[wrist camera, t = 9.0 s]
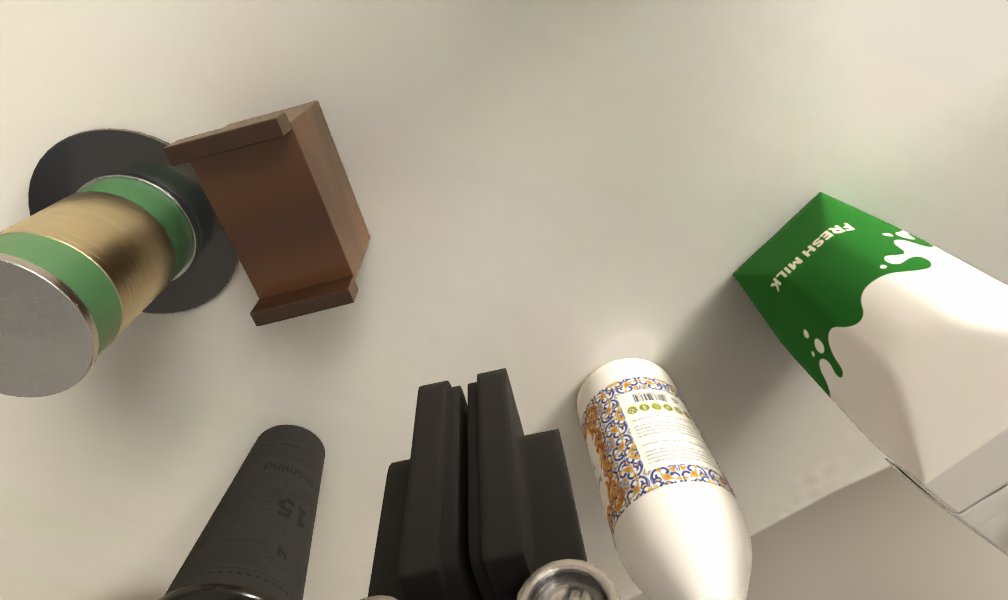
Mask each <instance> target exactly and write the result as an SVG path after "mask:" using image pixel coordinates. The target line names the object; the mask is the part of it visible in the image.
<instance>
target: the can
mask: <svg viewBox="0 0 1008 600" xmlns="http://www.w3.org/2000/svg"><path fill="white" fill-rule="evenodd" d="M198 248H199V235H198V230H197V226H196V223H195V221H194V218H193V216H192V215H191V213H190V211H189V210H188V208H187V207H186V206H185V204H184V203H183V202H182V201H181V200H180V199H179V198H178V197H177V196H176V195H175V194H174V193H173V192H172V191H170V190H169V189H167V188H166V187H165V186H163V185H161V184H159V183H158V182H156V181H154V180H151V179H149V178H146V177H143V176H140V175H136V174H131V173H110V174H105V175H101V176H98V177H96V178H94V179H92V180H90V181H88V182H87V183H85V184H84V185H83V186H81V187H80V188H79V189H78V190H77V192H76V193H75V194H73V195H70V196H68V197H66V198H64V199H62V200H60V201H58V202H56V203H54V204H52V205H51V206H49V207H47V208H45V209H43V210H41V211H39V212H37V213H35V214H34V215H32V216H30V217H28V218H26V219H24V220H22V221H20V222H18V223H17V224H15V225H13V226H11V227H9V228H7V229H5V230H3V231H1V232H0V393H1V394H5V395H10V396H17V397H42V396H48V395H53V394H56V393H60V392H62V391H64V390H67V389H69V388H71V387H72V386H74V385H75V384H77V383H78V382H79V381H80V380H81V379H82V378H83V377H84V376H85V375H86V374H87V373H88V372H89V370H90V369H91V368H92V366H93V365H94V363H95V361H96V358H97V356H98V355H99V354H100V353H101V352H102V351H103V350H104V349H105V348H106V347H107V346H108V345H109V344H110V343H111V342H112V341H113V340H114V339H115V338H116V337H117V336H118V335H119V334H120V333H121V332H122V331H123V330H124V329H125V328H126V327H127V326H128V325H129V324H130V323H131V322H132V321H133V320H134V319H135V318H136V317H137V316H138V315H139V314H140V313H141V312H142V311H143V310H144V309H145V308H146V307H147V306H148V305H149V304H150V303H151V302H152V301H153V300H154V299H155V298H156V297H157V296H158V295H159V294H160V293H161V292H162V291H163V290H164V289H165V288H166V286H167V285H168V284H169V283H170V282H171V281H173V280H175V279H177V278H178V277H180V276H181V275H182V274H184V273H185V272H186V271H187V270H188V269H189V268H190V266H191V265H192V264H193V262H194V260H195V258H196V256H197V253H198Z"/></svg>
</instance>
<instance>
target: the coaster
mask: <svg viewBox="0 0 1008 600" xmlns="http://www.w3.org/2000/svg"><path fill="white" fill-rule="evenodd" d="M168 145H170V144H169V143H167V142H165V141H162V140H160V139H158V138H156V137H153V136H150V135H146V134H143V133H140V132H135V131H130V130H125V129H111V128H109V129H95V130H90V131H85V132H81V133H78V134H75V135H73V136H70V137H67V138H66V139H64V140H62V141H60V142H58V143H57V144H56V145H54V146H53V147H52V148H51V149H49V150H48V151H47V152H46V153H45V155H44V156H43V157H42V158H41V159H40V161H39V162H38V164H37V166H36V168H35V169H34V172H33V175H32V178H31V181H30V186H29V192H28V197H29V210H30V216H32V215H34V214H35V213H37V212H39V211H41V210H43V209H45V208H47V207H49V206H51V205H52V204H54V203H56V202H58V201H60V200H62V199H64V198H66V197H68V196H70V195H73V194H75V193H76V192H77V190H78V189H79V188H80V187H81V186H83V185H84V184H85V183H87V182H88V181H90V180H92V179H94V178H96V177H98V176H101V175H105V174H110V173H131V174H136V175H140V176H143V177H146V178H149V179H151V180H154V181H156V182H158V183H159V184H161V185H163V186H165V187H166V188H167V189H169V190H170V191H172V192H173V193H174V194H175V195H176V196H177V197H178V198H179V199H180V200H181V201H182V202H183V203H184V204H185V206H186V207H187V208H188V210H189V211H190V213H191V215H192V216H193V218H194V221H195V223H196V226H197V230H198V235H199V248H198V253H197V256H196V258H195V260H194V262H193V264H192V265H191V266H190V268H189V269H188V270H187V271H186V272H185V273H184V274H182V275H181V276H180V277H178V278H177V279H175V280H173V281H171V282H170V283H169V284H168V285H167V286H166V288H165V289H164V290H163V291H162V292H161V293H160V294H159V295H158V296H157V297H156V298H155V299H154V300H153V301H152V302H151V303H150V304H149V305H148V306H147V307H146V308H145V309H144V310H143V311H142V312H146V313H175V312H180V311H185V310H189V309H192V308H195V307H197V306H199V305H202V304H204V303H206V302H207V301H209V300H210V299H212V298H213V297H215V296H216V295H217V294H218V293H219V292H220V291H221V290H222V289H223V288H224V287H225V286H226V284H227V283H228V282H229V280H230V279H231V277H232V275H233V273H234V272H235V269H236V266H237V263H238V260H239V258H238V256H237V254H236V252H235V250H234V248H233V246H232V244H231V242H230V240H229V238H228V237H227V235H226V233H225V231H224V229H223V227H222V225H221V223H220V221H219V219H218V217H217V215H216V213H215V211H214V209H213V207H212V205H211V203H210V202H209V200H208V198H207V196H206V194H205V192H204V190H203V188H202V186H201V184H200V182H199V180H198V178H197V176H196V174H195V172H194V170H193V168H192V166H191V165H190V163H189V162H187V163H183V164H179V165H175V166H172V165H171V163H170V161H169V160H168V158H167V156H166V154H165V152H164V150H163V148H164V147H166V146H168Z"/></svg>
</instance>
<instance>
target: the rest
mask: <svg viewBox="0 0 1008 600" xmlns="http://www.w3.org/2000/svg"><path fill="white" fill-rule="evenodd" d="M163 150H164V152H165V154H166V156H167V158H168V160H169V161H170V163H171V165H172V166H175V165H179V164H183V163H187V162H189V163H190V165H191V166H192V168H193V170H194V172H195V174H196V176H197V178H198V180H199V182H200V184H201V186H202V188H203V190H204V192H205V194H206V196H207V198H208V200H209V202H210V203H211V205H212V207H213V209H214V211H215V213H216V215H217V217H218V219H219V221H220V223H221V225H222V227H223V229H224V231H225V233H226V235H227V237H228V238H229V240H230V242H231V244H232V246H233V248H234V250H235V252H236V254H237V256H238V258H239V260H240V262H241V264H242V266H243V268H244V270H245V272H246V273H247V275H248V277H249V279H250V281H251V283H252V285H253V287H254V289H255V291H256V293H257V295H258V297H259V300H258V302H257V304H256V305H255V307H254V308H253V310H252V311H251V313H250V314H251V316H252V318H253V320H254V322H255V324H256V326H262V325H266V324H270V323H274V322H278V321H282V320H286V319H290V318H294V317H298V316H302V315H306V314H310V313H314V312H318V311H322V310H326V309H330V308H334V307H338V306H342V305H346V304H350V303H353V302H354V301H355V298H356V295H357V292H358V286H357V284H356V281H355V278H356V276H357V273H358V270H359V267H360V264H361V262H362V259H363V256H364V253H365V250H366V248H367V245H368V242H369V239H370V235H369V233H368V230H367V227H366V225H365V222H364V220H363V217H362V214H361V212H360V209H359V206H358V204H357V201H356V199H355V196H354V193H353V191H352V188H351V186H350V183H349V180H348V178H347V175H346V173H345V170H344V167H343V165H342V162H341V160H340V157H339V154H338V152H337V149H336V147H335V144H334V141H333V139H332V136H331V133H330V131H329V128H328V126H327V123H326V120H325V118H324V115H323V113H322V110H321V107H320V105H319V102H318V101H314V102H311V103H307V104H303V105H299V106H296V107H292V108H288V109H285V110H281V111H277V112H273V113H270V114H266V115H262V116H259V117H255V118H251V119H248V120H244V121H240V122H236V123H233V124H229V125H227V126H226V127H224V128H221V129H217V130H213V131H210V132H206V133H202V134H199V135H195V136H191V137H188V138H184V139H180V140H177V141H175V142H174V143H172V144H170V145H168V146H166V147H164V148H163Z"/></svg>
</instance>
